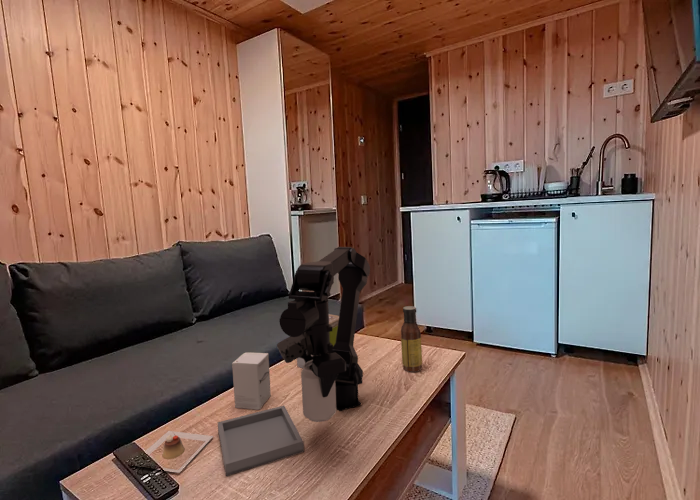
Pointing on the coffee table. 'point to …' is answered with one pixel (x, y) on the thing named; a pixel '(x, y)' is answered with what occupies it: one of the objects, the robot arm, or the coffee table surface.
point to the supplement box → (251, 380)
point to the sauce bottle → (411, 341)
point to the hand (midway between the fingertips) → (318, 388)
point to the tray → (258, 439)
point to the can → (316, 397)
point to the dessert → (177, 446)
